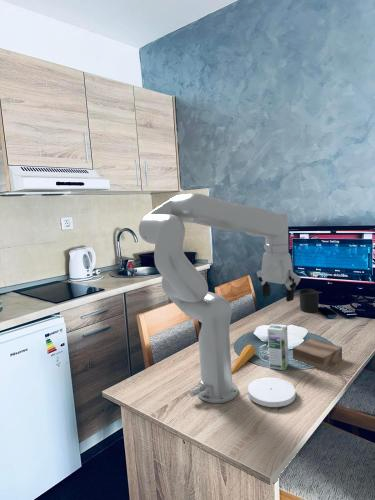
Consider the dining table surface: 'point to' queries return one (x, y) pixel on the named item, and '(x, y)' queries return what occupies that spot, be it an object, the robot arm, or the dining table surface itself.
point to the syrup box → (278, 346)
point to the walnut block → (318, 354)
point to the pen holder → (309, 300)
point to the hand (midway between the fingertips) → (277, 298)
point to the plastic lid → (271, 392)
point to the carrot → (244, 357)
